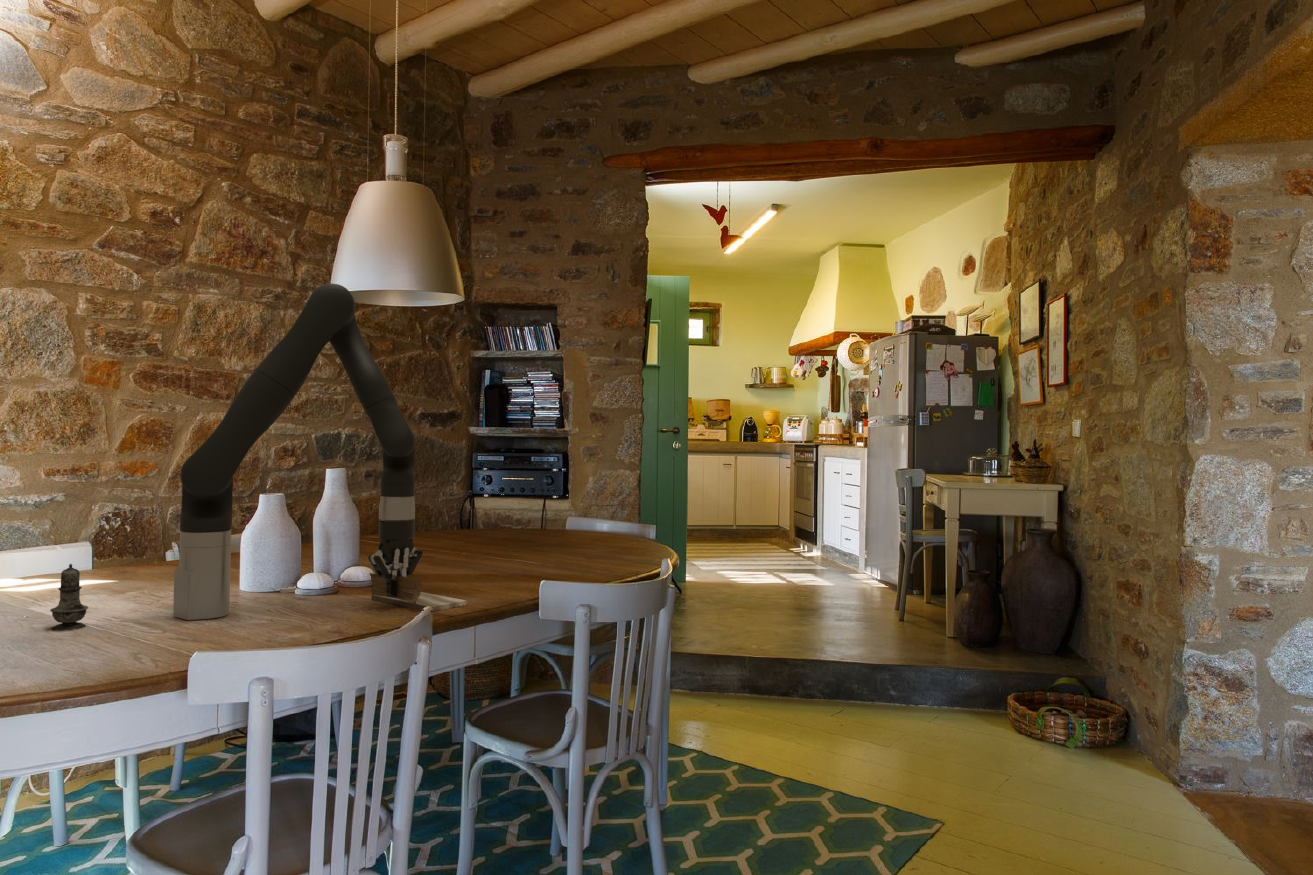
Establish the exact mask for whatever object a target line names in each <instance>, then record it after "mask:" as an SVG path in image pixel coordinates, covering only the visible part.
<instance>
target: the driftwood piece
mask: <svg viewBox="0 0 1313 875" xmlns="http://www.w3.org/2000/svg"><path fill="white" fill-rule="evenodd" d="M369 575H370V576H371V584H370V585H371V595H377V596H384V597H388V595H387V593H386V579H385V578H380V577H379V576H378V575H377V573H371V572H370V573H369ZM396 580H397V596H396V597H394V598H397V599H400V600H405V601H408V602H411V603H415V604H416V600H417V599H418V597H419V596H420V592H422V588H423V582H422V581H423V580H422V579H419V578H413V577H409V576H407V577H403V576H397V578H396ZM390 598H392V597H390Z"/></svg>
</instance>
